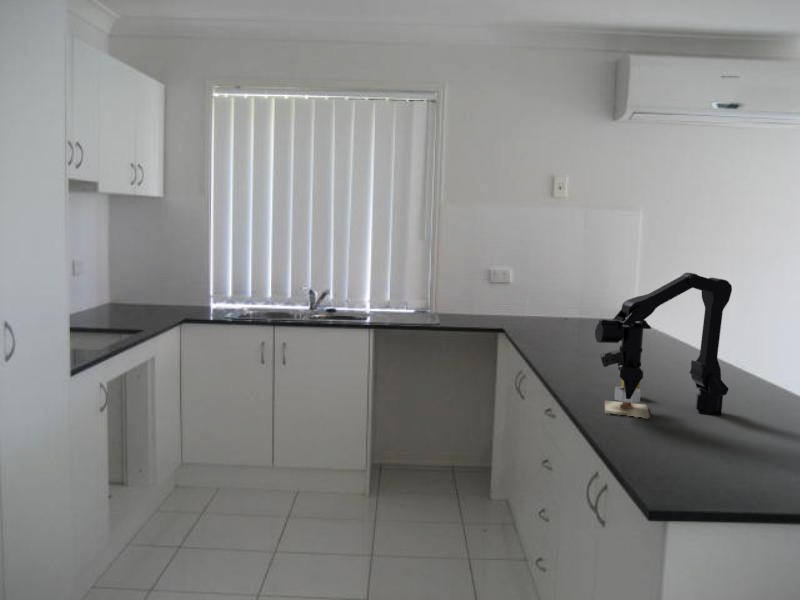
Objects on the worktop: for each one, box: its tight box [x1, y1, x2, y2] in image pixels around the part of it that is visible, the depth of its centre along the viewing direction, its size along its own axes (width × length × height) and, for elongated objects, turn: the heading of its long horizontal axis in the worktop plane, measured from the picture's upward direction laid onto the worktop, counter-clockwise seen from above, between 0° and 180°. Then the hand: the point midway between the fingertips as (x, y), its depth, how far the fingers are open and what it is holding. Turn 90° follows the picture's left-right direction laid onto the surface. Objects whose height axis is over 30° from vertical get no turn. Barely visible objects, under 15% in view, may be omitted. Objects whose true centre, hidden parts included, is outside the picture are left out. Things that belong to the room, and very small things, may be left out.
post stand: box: [604, 390, 650, 419], centre depth 211 cm, size 12×12×6 cm
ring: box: [614, 385, 642, 404], centre depth 211 cm, size 7×7×3 cm
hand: (627, 395), depth 211 cm, fingers closed on ring, 7 cm apart
